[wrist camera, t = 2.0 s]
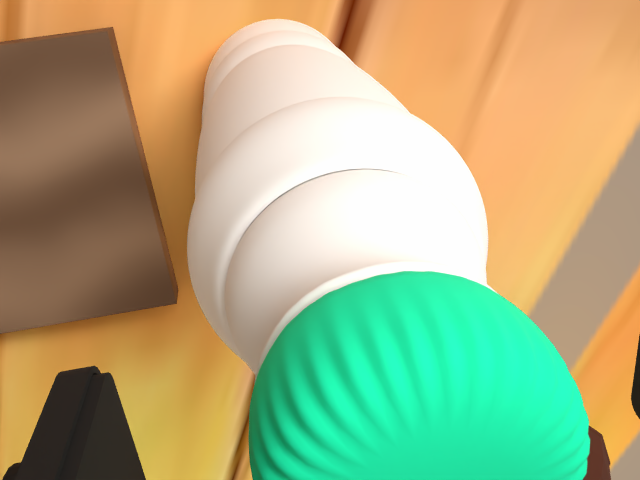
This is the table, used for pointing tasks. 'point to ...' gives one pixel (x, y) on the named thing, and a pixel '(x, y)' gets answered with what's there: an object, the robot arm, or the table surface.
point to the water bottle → (362, 282)
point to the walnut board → (74, 187)
